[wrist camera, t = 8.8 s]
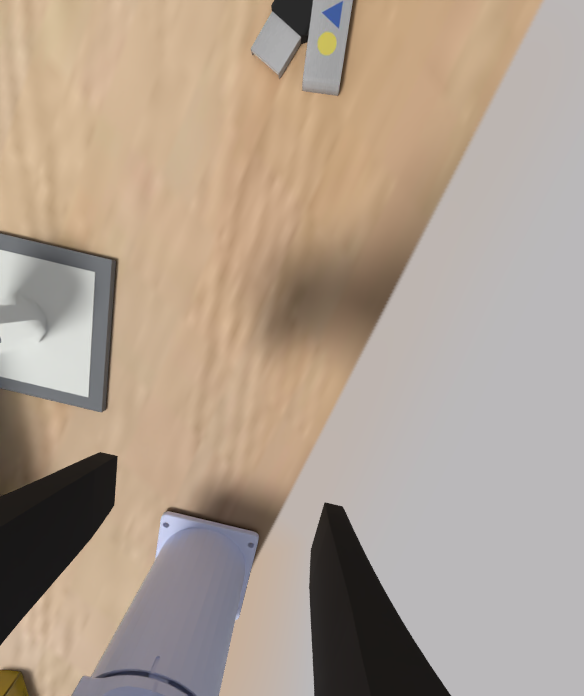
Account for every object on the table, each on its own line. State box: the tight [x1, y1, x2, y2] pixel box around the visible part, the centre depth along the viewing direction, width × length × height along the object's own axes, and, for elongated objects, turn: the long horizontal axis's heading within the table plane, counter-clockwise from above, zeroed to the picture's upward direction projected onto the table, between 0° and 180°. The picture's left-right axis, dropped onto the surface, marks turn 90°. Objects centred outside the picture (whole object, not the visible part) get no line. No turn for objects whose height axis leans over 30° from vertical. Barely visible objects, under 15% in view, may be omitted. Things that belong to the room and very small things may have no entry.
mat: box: [0, 233, 116, 412], centre depth 19 cm, size 11×11×1 cm
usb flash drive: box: [251, 0, 353, 96], centre depth 14 cm, size 9×5×1 cm, turn 143°
